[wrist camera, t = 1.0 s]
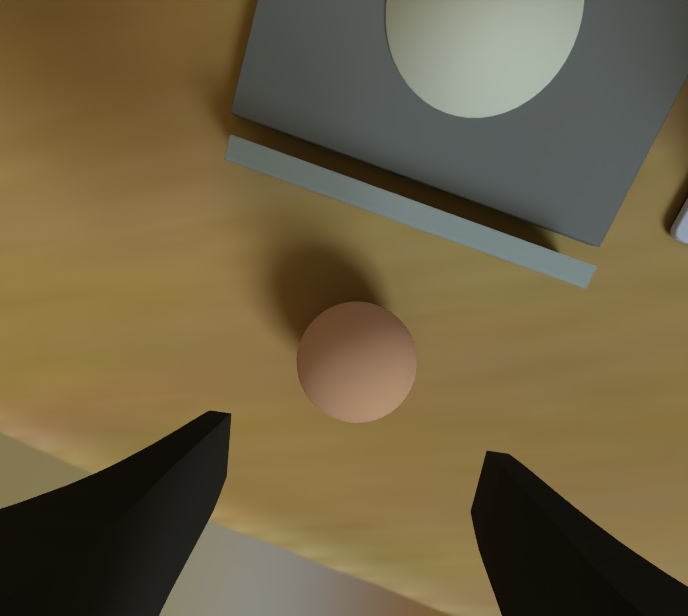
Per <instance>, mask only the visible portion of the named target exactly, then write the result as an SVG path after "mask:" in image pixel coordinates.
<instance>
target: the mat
mask: <svg viewBox="0 0 688 616" xmlns="http://www.w3.org/2000/svg"><path fill="white" fill-rule="evenodd" d="M687 76H688V0H258V2H257V6H256V11H255V15H254V19H253V23H252V27H251V31H250V35H249V39H248V43H247V47H246V51H245V55H244V59H243V63H242V67H241V71H240V75H239V79H238V84H237V88H236V92H235V96H234V100H233V104H232V108H231V113H232V114H234V115H235V116H237V117H239V118H242V119H245V120H248V121H250V122H253V123H256V124H259V125H261V126H264V127H267V128H270V129H272V130H275V131H278V132H281V133H283V134H286V135H289V136H292V137H294V138H297V139H300V140H303V141H305V142H308V143H311V144H314V145H316V146H319V147H322V148H325V149H327V150H330V151H333V152H336V153H338V154H341V155H344V156H347V157H349V158H352V159H355V160H358V161H360V162H363V163H366V164H369V165H371V166H374V167H377V168H380V169H382V170H385V171H388V172H391V173H393V174H396V175H399V176H402V177H404V178H407V179H410V180H413V181H415V182H418V183H421V184H424V185H426V186H429V187H432V188H435V189H437V190H440V191H443V192H445V193H448V194H451V195H454V196H456V197H459V198H462V199H465V200H467V201H470V202H473V203H476V204H478V205H481V206H484V207H487V208H489V209H492V210H495V211H498V212H500V213H503V214H506V215H509V216H511V217H514V218H517V219H520V220H522V221H525V222H528V223H531V224H533V225H536V226H539V227H542V228H544V229H547V230H550V231H553V232H555V233H558V234H561V235H564V236H566V237H569V238H572V239H575V240H577V241H580V242H583V243H586V244H588V245H592V246H598V247H600V245H601V243H602V241H603V239H604V237H605V235H606V234H607V232H608V230H609V228H610V226H611V224H612V222H613V220H614V218H615V216H616V214H617V212H618V210H619V208H620V206H621V204H622V202H623V200H624V198H625V197H626V195H627V193H628V191H629V189H630V187H631V185H632V183H633V181H634V179H635V177H636V175H637V173H638V171H639V169H640V167H641V165H642V163H643V161H644V160H645V158H646V156H647V154H648V152H649V150H650V148H651V146H652V144H653V142H654V140H655V138H656V136H657V134H658V132H659V130H660V128H661V126H662V124H663V123H664V121H665V119H666V117H667V115H668V113H669V111H670V109H671V107H672V105H673V103H674V101H675V99H676V97H677V95H678V93H679V91H680V89H681V87H682V86H683V84H684V82H685V80H686V78H687Z"/></svg>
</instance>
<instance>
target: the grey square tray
mask: <svg viewBox="0 0 688 616" xmlns="http://www.w3.org/2000/svg"><path fill="white" fill-rule="evenodd" d="M224 160H227V161H230V162H233V163H236V164H238V165H241V166H244V167H247V168H250V169H252V170H255V171H258V172H261V173H264V174H266V175H269V176H272V177H275V178H277V179H280V180H283V181H286V182H289V183H291V184H294V185H297V186H300V187H303V188H305V189H308V190H311V191H314V192H317V193H319V194H322V195H325V196H328V197H331V198H333V199H336V200H339V201H342V202H344V203H347V204H350V205H353V206H356V207H358V208H361V209H364V210H367V211H370V212H372V213H375V214H378V215H381V216H384V217H386V218H389V219H392V220H395V221H398V222H400V223H403V224H406V225H409V226H411V227H414V228H417V229H420V230H423V231H425V232H428V233H431V234H434V235H437V236H439V237H442V238H445V239H448V240H451V241H453V242H456V243H459V244H462V245H465V246H467V247H470V248H473V249H476V250H478V251H481V252H484V253H487V254H490V255H492V256H495V257H498V258H501V259H504V260H506V261H509V262H512V263H515V264H518V265H520V266H523V267H526V268H529V269H532V270H534V271H537V272H540V273H543V274H545V275H548V276H551V277H554V278H557V279H559V280H562V281H565V282H568V283H571V284H573V285H576V286H579V287H582V288H585V289H586V287H587V285H588V283H589V281H590V279H591V278H592V276H593V274H594V272H595V270H596V268H597V267H596V266H594V265H591V264H588V263H585V262H583V261H580V260H577V259H574V258H571V257H569V256H566V255H563V254H560V253H558V252H555V251H552V250H549V249H547V248H544V247H541V246H538V245H535V244H533V243H530V242H527V241H524V240H522V239H519V238H516V237H513V236H511V235H508V234H505V233H502V232H500V231H497V230H494V229H491V228H488V227H486V226H483V225H480V224H477V223H475V222H472V221H469V220H466V219H464V218H461V217H458V216H455V215H453V214H450V213H447V212H444V211H441V210H439V209H436V208H433V207H430V206H428V205H425V204H422V203H419V202H417V201H414V200H411V199H408V198H405V197H403V196H400V195H397V194H394V193H392V192H389V191H386V190H383V189H381V188H378V187H375V186H372V185H370V184H367V183H364V182H361V181H358V180H356V179H353V178H350V177H347V176H345V175H342V174H339V173H336V172H334V171H331V170H328V169H325V168H322V167H320V166H317V165H314V164H311V163H309V162H306V161H303V160H300V159H298V158H295V157H292V156H289V155H287V154H284V153H281V152H278V151H275V150H273V149H270V148H267V147H264V146H262V145H259V144H256V143H253V142H251V141H248V140H245V139H242V138H239V137H237V136H234V135H231V134H230V138H229V142H228V146H227V150H226V154H225V158H224Z"/></svg>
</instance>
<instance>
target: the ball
mask: <svg viewBox="0 0 688 616" xmlns="http://www.w3.org/2000/svg"><path fill="white" fill-rule="evenodd" d="M416 369H417V355H416V350H415V345H414V342H413V340H412V337H411V335H410V333H409V331H408V330H407V328H406V327H405V325H404V324H403V323H402V322H401V321H400V320H399V319H398V318H397V317H396V316H395V315H394V314H393V313H391V312H390V311H388V310H386V309H385V308H383V307H380V306H378V305H376V304H372V303H368V302H360V301H353V302H345V303H341V304H338V305H335V306H333V307H330V308H329V309H327V310H325V311H323V312H322V313H321V314H319V315H318V316H317V317H316V318H315V319H314V320H313V321H312V322H311V323H310V325H309V326H308V327H307V329H306V330H305V332H304V334H303V336H302V338H301V341H300V344H299V348H298V352H297V371H298V377H299V380H300V383H301V385H302V387H303V390H304V392H305V393H306V395H307V396H308V398H309V399H310V400H311V402H312V403H313V404H314V405H315V406H316V407H317V408H318V409H320V410H321V411H322V412H324V413H325V414H327V415H329V416H331V417H333V418H335V419H338V420H341V421H345V422H352V423H362V422H369V421H373V420H376V419H379V418H381V417H383V416H385V415H387V414H389V413H390V412H392V411H393V410H394V409H396V408H397V407H398V406H399V405H400V404H401V403H402V402H403V401H404V399H405V398H406V396H407V395H408V393H409V391H410V389H411V387H412V385H413V382H414V380H415V375H416Z"/></svg>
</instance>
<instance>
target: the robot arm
mask: <svg viewBox="0 0 688 616" xmlns="http://www.w3.org/2000/svg"><path fill="white" fill-rule="evenodd" d="M670 232H671V236H672V238H673V239H675V240H677V241H680V242H682V243H685V244H688V198H687V200H686V202H685V204H684V205H683V207H682V209H681V211H680V213H679V214H678V216H677V218H676V220H675V222H674V223H673V225H672V227H671V230H670ZM230 424H231V413H224V412H217V411H208V412H206V413H204V414H202V415H201V416H199V417H197V418H196V419H194V420H192V421H191V422H189V423H188V424H186V425H184V426H183V427H181V428H179V429H178V430H176V431H174V432H173V433H171V434H169V435H168V436H166V437H164V438H163V439H161V440H159V441H157V442H156V443H154V444H152V445H150V446H148V447H147V448H145V449H143V450H141V451H139V452H137V453H135V454H133V455H132V456H130V457H128V458H126V459H124V460H122V461H120V462H118V463H116V464H114V465H112V466H110V467H108V468H106V469H104V470H102V471H99V472H97V473H95V474H93V475H90V476H88V477H86V478H83V479H81V480H79V481H76V482H74V483H72V484H69V485H67V486H64V487H61V488H59V489H56V490H53V491H50V492H47V493H45V494H42V495H39V496H37V497H34V498H31V499H28V500H26V501H23V502H20V503H17V504H14V505H11V506H8V507H5V508H2V509H0V616H159V614H160V612H161V610H162V608H163V606H164V604H165V602H166V600H167V598H168V596H169V593H170V592H171V590H172V588H173V586H174V584H175V582H176V580H177V578H178V577H179V575H180V573H181V571H182V569H183V567H184V565H185V563H186V561H187V560H188V558H189V556H190V554H191V552H192V550H193V548H194V546H195V545H196V543H197V541H198V539H199V537H200V535H201V533H202V531H203V530H204V528H205V526H206V524H207V522H208V520H209V518H210V516H211V514H212V512H213V510H214V508H215V505H216V503H217V500H218V498H219V495H220V493H221V490H222V487H223V485H224V482H225V479H226V477H227V465H228V451H229V438H230ZM471 516H472V521H473V526H474V531H475V535H476V539H477V544H478V548H479V551H480V554H481V557H482V560H483V563H484V566H485V569H486V572H487V575H488V577H489V580H490V583H491V586H492V589H493V591H494V594H495V597H496V600H497V603H498V605H499V608H500V611H501V614H502V616H688V587H687V586H686V585H684V584H683V583H681V582H679V581H678V580H676V579H675V578H673V577H671V576H670V575H668V574H667V573H665V572H664V571H662V570H661V569H659V568H658V567H656V566H655V565H653V564H652V563H650V562H649V561H647V560H646V559H644V558H643V557H641V556H640V555H638V554H637V553H635V552H634V551H632V550H631V549H629V548H628V547H627V546H625V545H624V544H622V543H621V542H619V541H618V540H617V539H615V538H614V537H613V536H611V535H610V534H609V533H607V532H606V531H605V530H603V529H602V528H601V527H599V526H598V525H597V524H595V523H594V522H593V521H591V520H590V519H589V518H588V517H586V516H585V515H584V514H583V513H581V512H580V511H579V510H577V509H576V508H575V507H574V506H573V505H571V504H570V503H569V502H568V501H566V500H565V499H564V498H563V497H562V496H560V495H559V494H558V493H557V492H555V491H554V490H553V489H552V488H551V487H549V486H548V485H547V484H546V483H545V482H543V481H542V480H541V479H540V478H539V477H537V476H536V475H535V474H534V473H533V472H531V471H530V470H529V469H528V468H527V467H525V466H524V465H523V464H522V463H520V462H519V461H518V460H516V459H515V458H514V457H512V456H511V455H509V454H506V453H499V452H492V451H487V452H486V456H485V459H484V463H483V467H482V471H481V474H480V478H479V482H478V486H477V490H476V493H475V497H474V501H473V505H472V509H471Z"/></svg>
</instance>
